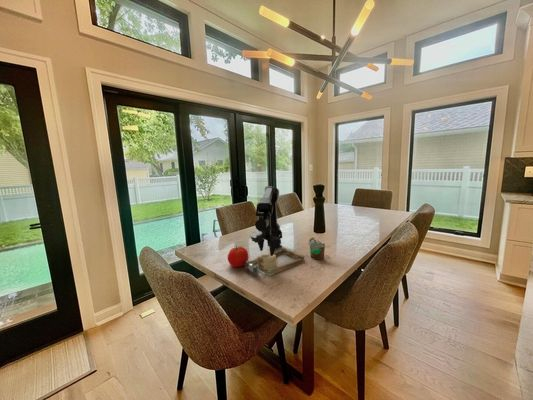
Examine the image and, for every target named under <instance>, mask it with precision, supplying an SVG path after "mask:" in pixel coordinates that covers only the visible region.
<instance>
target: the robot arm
mask: <svg viewBox="0 0 533 400" xmlns="http://www.w3.org/2000/svg"><path fill="white" fill-rule="evenodd" d="M279 196H280V190H279V188H277V187H275V186H272V185H270V186H269V185H267V186H265V187H264V193H263V196H262V198H261V199H259V200H258V202H257V204H256V209H255V217H258V218H257V220H256V221H255V224H254V226H255V229H256V231H254V232H252V233H251V234H249V235H250V236H249V237H250V238H251V241H252V242H253V243H256V244H257V245H258V248H259V250H260V252H263V251H264V246H265V245H264V244H265V241H267V247H268V248H269V252H270V255H271V256H273V254H274V252H276V249H278V248H282V247H283V245H282V240H281V239H283V231H282V230H281V226H280V224H279V223H278V212H277V211H278V209H277V201H278V200H279Z"/></svg>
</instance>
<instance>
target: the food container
mask: <svg viewBox="0 0 533 400" xmlns="http://www.w3.org/2000/svg"><path fill="white" fill-rule="evenodd" d="M307 244H308V245H309V251H310V252H309V253H310V258H311V259H314V260H316V261H317V260H318V261H323V260H325V249H326V243H325V242H324V243H322V242H321V241H320V240H317V239H315V238H314V237H310V238H309V240H308V243H307Z"/></svg>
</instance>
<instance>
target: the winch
mask: <svg viewBox="0 0 533 400" xmlns="http://www.w3.org/2000/svg"><path fill="white" fill-rule="evenodd" d="M260 269H261V268H260V266H258V264H256V265H255V264H252V263H250V260H249V259H248V260H247V261H245V265H244V270H245V271H249V272H251V273H253V276H254V277H255V278H257V277H258V276H259V271H258V270H260Z"/></svg>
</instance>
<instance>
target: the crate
mask: <svg viewBox="0 0 533 400" xmlns="http://www.w3.org/2000/svg"><path fill="white" fill-rule="evenodd" d="M257 258H258V264H257V265H258V266H260V268H259V269H261V270H263V272H264V271H268V270H267V269H270V268H272V267H275V268H276V267H277V256H276V255H274V254H273V256H271V255H270V251H269V252H266V253H263V254H260V255H257Z"/></svg>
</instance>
